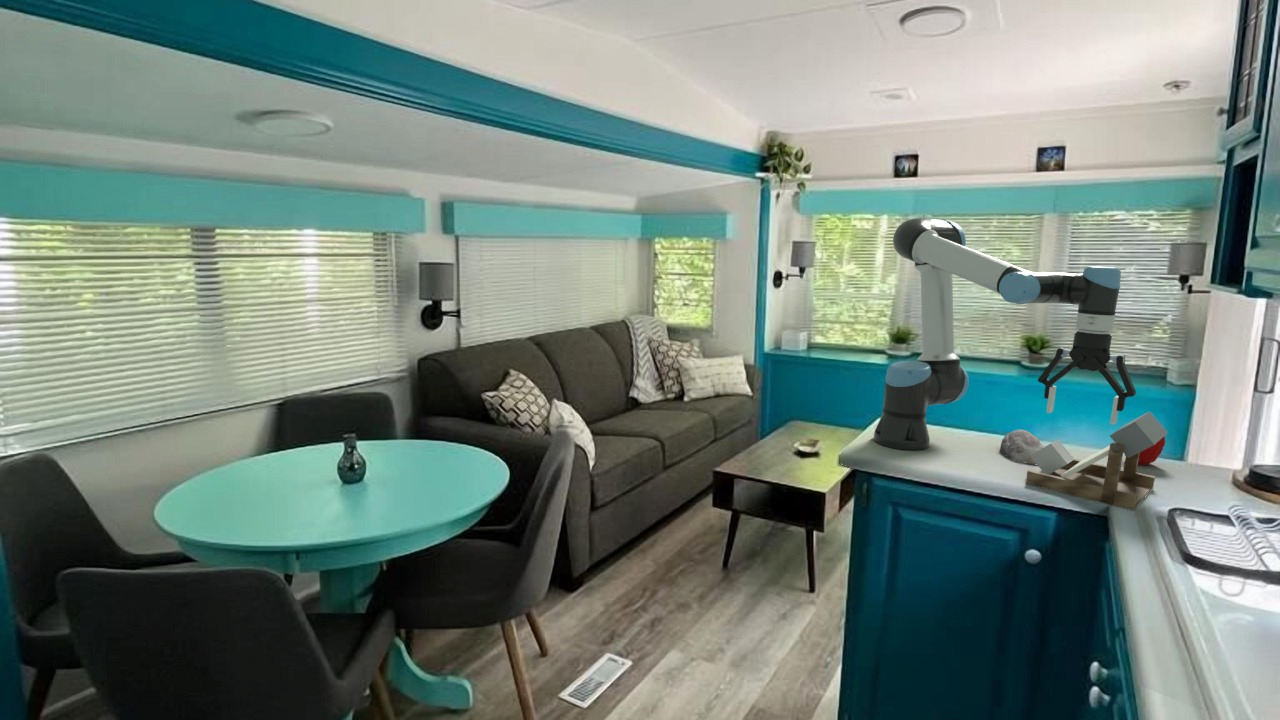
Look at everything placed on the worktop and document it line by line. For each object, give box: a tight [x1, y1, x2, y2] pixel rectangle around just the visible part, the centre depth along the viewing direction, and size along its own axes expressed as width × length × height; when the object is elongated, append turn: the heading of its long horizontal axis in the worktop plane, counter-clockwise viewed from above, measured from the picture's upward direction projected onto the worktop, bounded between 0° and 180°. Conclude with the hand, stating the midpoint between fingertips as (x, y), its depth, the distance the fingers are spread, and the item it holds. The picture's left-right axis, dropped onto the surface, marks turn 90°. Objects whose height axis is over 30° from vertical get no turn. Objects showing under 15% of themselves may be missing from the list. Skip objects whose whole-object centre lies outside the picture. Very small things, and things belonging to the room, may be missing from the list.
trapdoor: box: [1061, 411, 1169, 478], centre depth 165 cm, size 20×18×6 cm
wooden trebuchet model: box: [1025, 442, 1156, 512], centre depth 168 cm, size 22×22×14 cm
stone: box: [999, 429, 1044, 465], centre depth 192 cm, size 17×10×10 cm
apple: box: [1124, 435, 1166, 466], centre depth 189 cm, size 10×10×11 cm
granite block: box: [1030, 439, 1075, 474], centre depth 174 cm, size 6×6×6 cm
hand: (1080, 417), depth 169 cm, fingers open, 13 cm apart
